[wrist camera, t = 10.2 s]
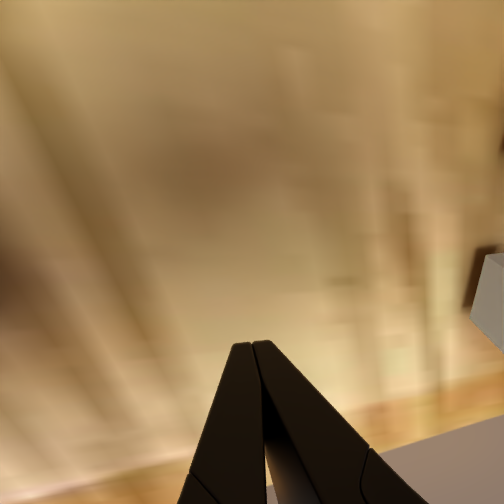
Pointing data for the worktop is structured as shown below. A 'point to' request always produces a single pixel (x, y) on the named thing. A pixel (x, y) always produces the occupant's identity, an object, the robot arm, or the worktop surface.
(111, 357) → the worktop surface
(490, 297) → the light gray button
